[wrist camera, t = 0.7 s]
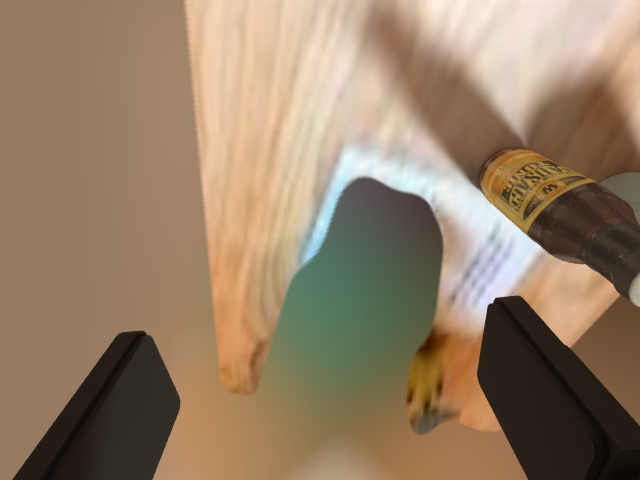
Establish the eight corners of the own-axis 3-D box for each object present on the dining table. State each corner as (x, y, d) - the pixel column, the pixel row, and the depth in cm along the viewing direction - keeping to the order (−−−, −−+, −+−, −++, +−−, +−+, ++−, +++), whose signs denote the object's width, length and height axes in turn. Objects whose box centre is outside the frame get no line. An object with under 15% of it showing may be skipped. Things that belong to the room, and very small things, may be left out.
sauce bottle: (516, 132, 34) (728, 202, 17) (543, 176, 37) (756, 278, 19) (461, 174, 36) (599, 276, 19) (490, 213, 39) (637, 338, 21)
